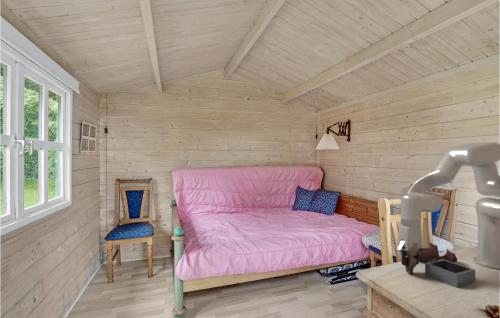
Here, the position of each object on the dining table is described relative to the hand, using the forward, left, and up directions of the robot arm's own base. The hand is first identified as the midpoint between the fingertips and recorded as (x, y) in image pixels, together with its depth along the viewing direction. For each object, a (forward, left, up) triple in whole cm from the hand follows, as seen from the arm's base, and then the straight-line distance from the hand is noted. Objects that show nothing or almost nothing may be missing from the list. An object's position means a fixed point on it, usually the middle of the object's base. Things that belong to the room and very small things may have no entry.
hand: (410, 264), depth 114 cm
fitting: (-12, +9, -4) cm, 16 cm away
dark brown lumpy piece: (-24, -3, -5) cm, 25 cm away
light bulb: (0, 0, -5) cm, 5 cm away
